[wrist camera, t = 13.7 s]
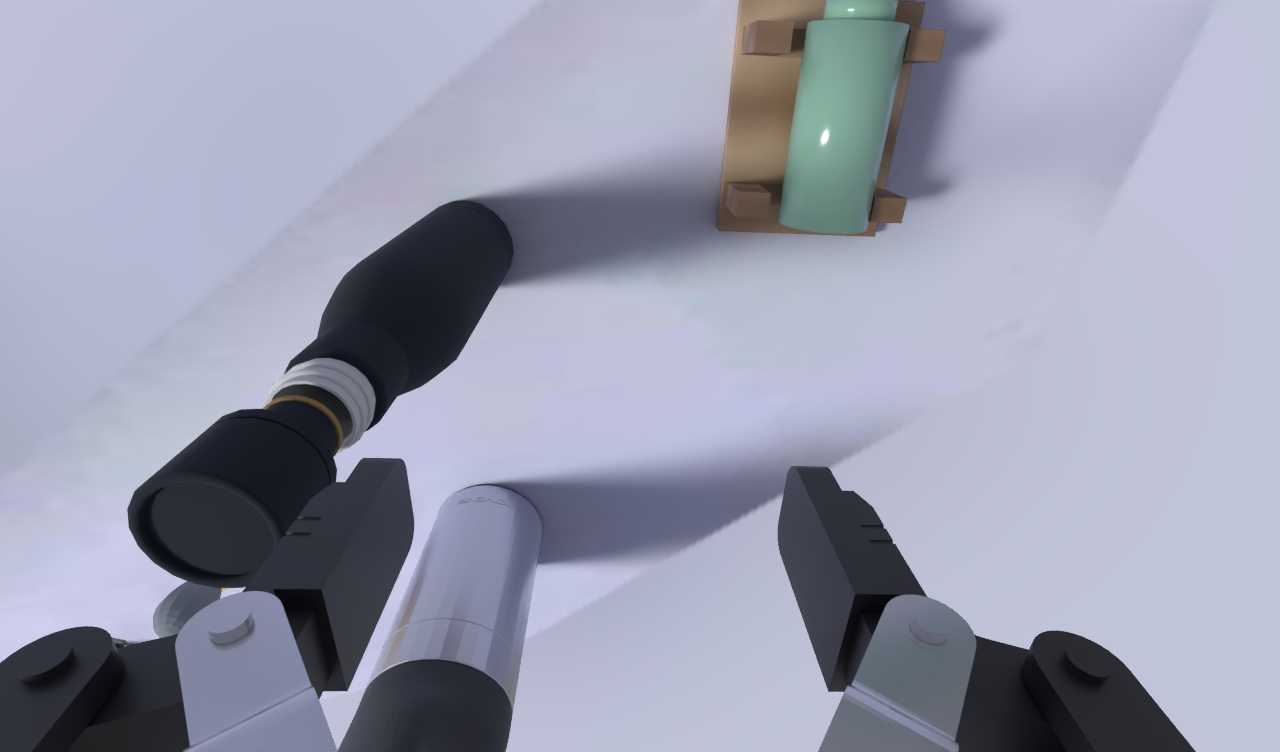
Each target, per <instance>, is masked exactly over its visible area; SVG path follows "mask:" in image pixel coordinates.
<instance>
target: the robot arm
mask: <svg viewBox="0 0 1280 752" xmlns="http://www.w3.org/2000/svg"><path fill="white" fill-rule="evenodd" d="M413 533H414V516H413V510H412V503H411V496H410V490H409V483H408V477H407V470H406V465H405V463H404V461H403V460H402V459H392V458H363V459H362V460H360V462H359V463H358V464H357V466H356V467H355V469H354V470H353V472H352V473H351V475H350V476H349V478H348V479H347V481H346V482H333V483H332V484H330V485H329V486H328V487H326V488H325V489H323V490H322V491H321V492H319V493H318V494H316V495H315V496H314V497H312V498H311V499H310V500H309V502H308V503H307V505H306V506H305V507H304V509H303V510H302V511H301V513H300V514H299V515H298V517H297V521H294V522H293V524H292V525H291V526H290V528H289V529H288V530H287V532H286V536H283V537H282V539H281V540H280V541H279V543H278V544H277V545H276V547H275V548H274V549H273V551H272V552H271V554H270V555H269V556H268V558H267V559H266V560H265V562H264V563H263V564H262V566H261V567H260V569H259V570H258V571H257V573H256V574H255V575H254V577H253V578H252V579H251V581H250V582H249V584H248V585H247V586H246V588H245V589H244V590H243V592H241V593H237V594H233V595H230V596H227V597H224V598H222V599H219V600H217V601H215V602H213V603H211V604H210V605H208V606H206V607H205V608H203V609H202V610H200V611H199V612H197V613H196V614H195V615H194V616H193V617H191V618H190V619H189V620H188V621H187V623H186V624H185V625H184V626H183V628H182V629H181V630H180V632H179V634H175V635H172V636H167V637H163V638H159V639H155V640H150V641H146V642H142V643H137V644H133V645H129V646H125V647H120V648H116V646H115V644H114V642H113V640H112V638H111V636H110V634H109V633H108V632H107V631H106V630H104V629H101V628H98V627H87V626H84V627H75V628H70V629H65V630H62V631H58V632H55V633H52V634H50V635H47V636H44V637H42V638H40V639H38V640H36V641H34V642H32V643H30V644H28V645H26V646H24V647H22V648H21V649H19V650H18V651H16V652H15V653H13V654H12V655H10V656H9V657H8V658H6V659H5V660H4V661H2V662H1V663H0V752H505V751H506V747H507V743H508V738H509V732H510V727H511V720H512V714H513V707H514V701H515V695H516V689H517V683H518V675H519V669H520V663H521V657H522V651H523V645H524V639H525V633H526V627H527V621H528V615H529V609H530V603H531V597H532V591H533V585H534V579H535V573H536V568H537V562H538V556H539V550H540V544H541V537H542V523H541V519H540V516H539V514H538V513H537V511H536V509H535V508H534V506H533V505H532V504H531V503H530V502H529V501H528V500H527V499H525V498H524V497H522V496H521V495H520V494H518V493H515V492H513V491H511V490H509V489H505V488H502V487H498V486H488V485H484V486H474V487H470V488H466V489H463V490H461V491H459V492H457V493H455V494H454V495H452V496H451V497H450V498H448V499H447V500H446V502H445V503H444V504H443V505H442V507H441V509H440V512H439V514H438V516H437V519H436V521H435V523H434V526H433V528H432V530H431V533H430V535H429V537H428V540H427V542H426V544H425V547H424V549H423V551H422V554H421V556H420V559H419V561H418V563H417V566H416V568H415V571H414V573H413V576H412V578H411V580H410V583H409V585H408V588H407V590H406V593H405V595H404V597H403V600H402V602H401V605H400V607H399V609H398V612H397V614H396V617H395V619H394V622H393V624H392V626H391V629H390V631H389V634H388V636H387V638H386V641H385V643H384V646H383V649H382V651H381V654H380V656H379V658H378V661H377V663H376V666H375V668H374V671H373V673H372V675H371V678H370V680H369V683H368V685H367V688H366V690H365V693H364V695H363V697H362V700H361V702H360V705H359V707H358V710H357V712H356V714H355V716H354V718H353V720H352V723H351V725H350V727H349V729H348V731H347V733H346V735H345V737H344V739H343V741H342V743H341V745H340V747H339V749H338V751H337V749H336V746H335V743H334V740H333V738H332V735H331V732H330V729H329V727H328V724H327V721H326V718H325V716H324V713H323V710H322V707H321V705H320V702H319V699H320V697H321V695H322V692H323V691H348V688H349V686H350V684H351V682H352V679H353V677H354V675H355V673H356V670H357V668H358V666H359V664H360V661H361V659H362V657H363V654H364V652H365V650H366V648H367V645H368V643H369V641H370V639H371V636H372V634H373V632H374V630H375V627H376V625H377V623H378V621H379V618H380V616H381V614H382V611H383V609H384V607H385V605H386V602H387V600H388V598H389V596H390V593H391V591H392V589H393V587H394V584H395V582H396V580H397V578H398V575H399V573H400V571H401V568H402V566H403V564H404V562H405V559H406V557H407V555H408V553H409V550H410V548H411V544H412V540H413ZM778 543H779V544H778V545H779V550H780V554H781V557H782V560H783V563H784V565H785V569H786V572H787V574H788V577H789V580H790V582H791V586H792V589H793V591H794V594H795V597H796V600H797V603H798V606H799V609H800V612H801V614H802V617H803V620H804V623H805V626H806V628H807V632H808V634H809V637H810V640H811V643H812V646H813V649H814V651H815V654H816V657H817V660H818V663H819V666H820V668H821V672H822V674H823V677H824V680H825V683H826V686H827V688H828V691H829V692H830V691H831V692H834V691H836V692H837V691H839V692H844V694H843V696H842V699H841V701H840V703H839V706H838V708H837V710H836V712H835V715H834V717H833V719H832V721H831V724H830V726H829V728H828V731H827V733H826V735H825V737H824V740H823V742H822V744H821V746H820V749H819V751H818V752H1196V751H1195V750H1194V749H1193V748H1192V747H1191V745H1190V744H1189V743H1188V742H1187V740H1186V739H1185V738H1184V737H1183V736H1182V734H1181V733H1180V732H1179V731H1178V729H1177V728H1176V727H1175V726H1174V724H1173V723H1172V722H1171V721H1170V719H1169V718H1168V717H1167V716H1166V715H1165V713H1164V712H1163V711H1162V710H1161V708H1160V707H1159V706H1158V705H1157V703H1156V702H1155V701H1154V700H1153V699H1152V697H1151V696H1150V695H1149V694H1148V692H1147V691H1146V690H1145V688H1144V687H1143V686H1142V685H1141V684H1140V682H1139V681H1138V680H1137V679H1136V678H1135V676H1134V675H1133V674H1132V672H1131V671H1130V670H1129V669H1128V668H1127V667H1126V666H1125V664H1124V663H1123V662H1121V661H1120V660H1119V659H1118V658H1117V657H1116V656H1114V655H1113V654H1112V653H1110V652H1109V651H1108V650H1106V649H1105V648H1103V647H1102V646H1100V645H1098V644H1097V643H1095V642H1093V641H1091V640H1088V639H1086V638H1084V637H1082V636H1079V635H1076V634H1073V633H1069V632H1064V631H1047V632H1043V633H1041V634H1039V635H1038V636H1036V637H1035V639H1034V641H1033V643H1032V645H1031V647H1030V649H1029V650H1027V649H1023V648H1019V647H1016V646H1012V645H1008V644H1004V643H1000V642H996V641H992V640H989V639H985V638H982V637H979V636H976V635H974V633H973V631H972V629H971V628H970V626H969V625H968V623H967V622H966V621H965V620H964V619H963V618H962V617H961V616H960V615H959V614H958V613H957V612H955V611H954V610H953V609H951V608H950V607H948V606H946V605H945V604H943V603H941V602H939V601H936V600H934V599H931V598H928V597H927V596H926V594H925V593H924V591H923V589H922V588H921V586H920V584H919V583H918V581H917V580H916V578H915V576H914V574H913V573H912V571H911V570H910V568H909V566H908V565H907V563H906V561H905V560H904V558H903V556H902V555H901V553H900V551H899V550H898V548H897V547H896V545H895V544H893V540H892V538H891V537H890V535H889V533H888V532H887V530H886V529H884V527H883V523H882V522H881V520H880V518H879V517H878V515H877V513H876V512H875V510H874V508H873V507H872V506H871V505H869V504H868V503H867V502H866V501H865V500H864V499H862V498H861V497H860V496H859V495H857V494H856V493H855V492H854V491H842V490H841V489H840V487H839V485H838V483H837V481H836V480H835V478H834V476H833V474H832V472H831V471H830V469H829V468H828V467H807V466H792V467H791V468H790V469H789V471H788V474H787V479H786V485H785V490H784V496H783V501H782V506H781V512H780V518H779V523H778Z"/></svg>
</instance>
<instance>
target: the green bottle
mask: <svg viewBox="0 0 1280 752" xmlns="http://www.w3.org/2000/svg"><path fill="white" fill-rule="evenodd" d="M898 1H899V0H826V3H825V9H824V15H823V20H817V21H810V22H807V25H806V31H805V38H804V45H803V52H802V58H801V65H800V72H799V79H798V86H797V92H796V99H795V106H794V113H793V119H792V126H791V133H790V140H789V146H788V153H787V160H786V167H785V174H784V180H783V187H782V194H781V201H780V207H779V214H778V222H779V223H781V224H783V225H785V226H788V227H791V228H795V229H799V230H805V231H811V232H818V233H829V234H856V233H861V232H864V231H866V230H867V225H868V221H869V216H870V211H871V206H872V202H873V197H874V192H875V188H876V183H877V178H878V174H879V169H880V164H881V160H882V155H883V150H884V146H885V141H886V136H887V131H888V127H889V122H890V117H891V113H892V108H893V103H894V99H895V94H896V89H897V85H898V80H899V75H900V71H901V66H902V61H903V56H904V52H905V47H906V42H907V38H908V33H909V28H910V25H908V24H905V23H900V22H894V20H895V15H896V10H897V6H898Z"/></svg>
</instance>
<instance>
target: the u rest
mask: <svg viewBox="0 0 1280 752" xmlns="http://www.w3.org/2000/svg"><path fill="white" fill-rule="evenodd" d="M825 3H826V0H739V8H738V18H737V28H736V38H735V48H734V58H733V68H732V78H731V88H730V98H729V108H728V118H727V128H726V138H725V148H724V158H723V168H722V178H721V188H720V198H719V208H718V218H717V229H718V230H719V231H738V232H765V233H792V234H818V235H845V236H872V237H875V232H876V227H877V223H878V222H882V223H902V218H903V214H904V210H905V205H906V201H907V198H904V197H902V196H899V195H897V194H894V193H892V192H889V191H887V190H885V186H886V181H887V177H888V172H889V167H890V163H891V158H892V153H893V149H894V144H895V139H896V135H897V130H898V126H899V121H900V116H901V112H902V107H903V102H904V98H905V93H906V89H907V84H908V79H909V75H910V70H911V65H912V63H922V62H937V61H939V60H940V56H941V51H942V47H943V43H944V38H945V34H946V31H944V30H926V29H919V28H920V24H921V19H922V15H923V10H924V5H925V2H909V1H898V6H897V10H896V15H895V20H894V22H900V23H905V24H908V25H910V28H909V33H908V38H907V42H906V47H905V52H904V56H903V61H902V66H901V71H900V75H899V80H898V85H897V89H896V94H895V99H894V103H893V108H892V113H891V117H890V122H889V127H888V131H887V136H886V141H885V146H884V150H883V155H882V160H881V164H880V169H879V174H878V178H877V183H876V188H875V192H874V197H873V202H872V206H871V211H870V216H869V221H868V225H867V230H866V231H864V232H861V233H856V234H829V233H818V232H811V231H805V230H799V229H795V228H791V227H788V226H785V225H783V224H781V223H779V222H778V214H779V207H780V201H781V194H782V187H783V180H784V174H785V167H786V160H787V153H788V146H789V140H790V133H791V126H792V119H793V113H794V106H795V99H796V92H797V86H798V79H799V72H800V65H801V58H802V52H803V45H804V38H805V31H806V25H807V22H810V21H817V20H823V15H824V9H825Z"/></svg>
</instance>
